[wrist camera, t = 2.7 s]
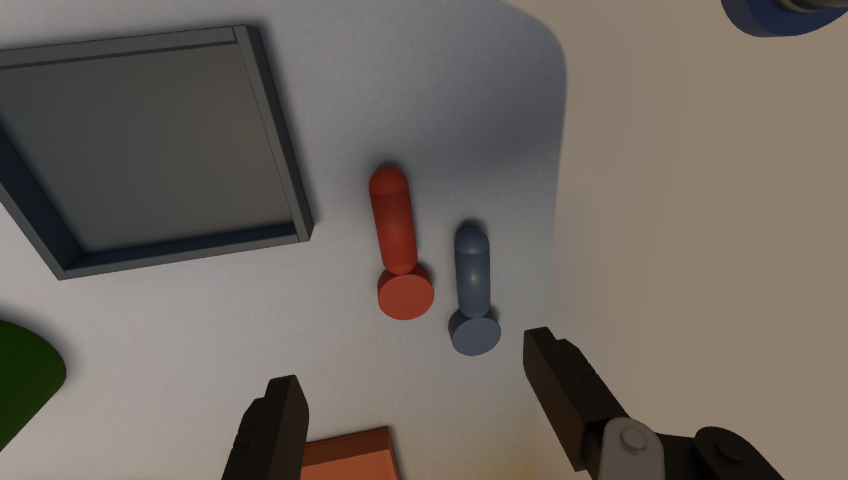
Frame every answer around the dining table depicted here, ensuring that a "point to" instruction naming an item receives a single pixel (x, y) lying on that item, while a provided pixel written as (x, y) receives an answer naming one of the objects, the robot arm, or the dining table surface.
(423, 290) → the red spoon
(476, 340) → the blue spoon
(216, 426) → the dining table surface
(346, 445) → the red tray
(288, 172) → the dark grey tray
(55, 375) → the candle
